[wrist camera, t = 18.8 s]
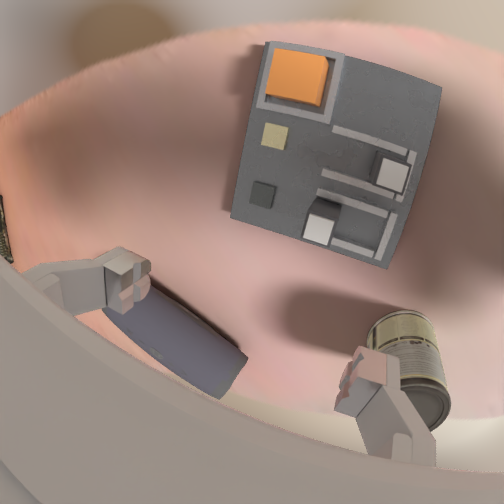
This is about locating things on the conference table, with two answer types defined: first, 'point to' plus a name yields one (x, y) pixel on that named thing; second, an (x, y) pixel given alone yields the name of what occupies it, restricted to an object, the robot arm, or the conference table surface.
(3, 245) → the network switch
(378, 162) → the block
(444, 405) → the coffee can
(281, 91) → the orange block
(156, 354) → the bluetooth speaker
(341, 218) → the panel
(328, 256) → the conference table surface
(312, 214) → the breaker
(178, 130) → the conference table surface
